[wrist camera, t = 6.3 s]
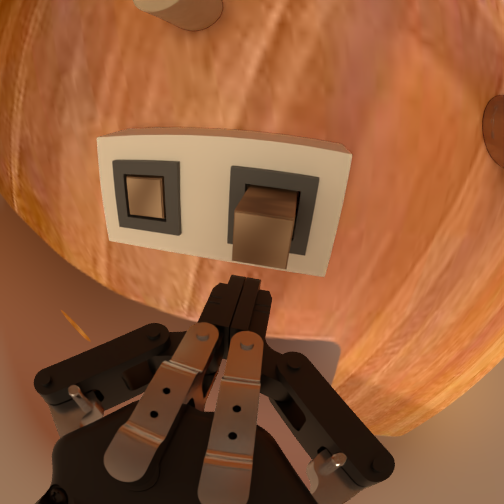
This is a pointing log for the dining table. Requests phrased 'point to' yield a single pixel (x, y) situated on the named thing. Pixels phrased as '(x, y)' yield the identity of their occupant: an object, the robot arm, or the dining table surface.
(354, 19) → the dining table surface
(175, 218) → the socket board
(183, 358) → the robot arm
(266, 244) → the peg
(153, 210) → the peg
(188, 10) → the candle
